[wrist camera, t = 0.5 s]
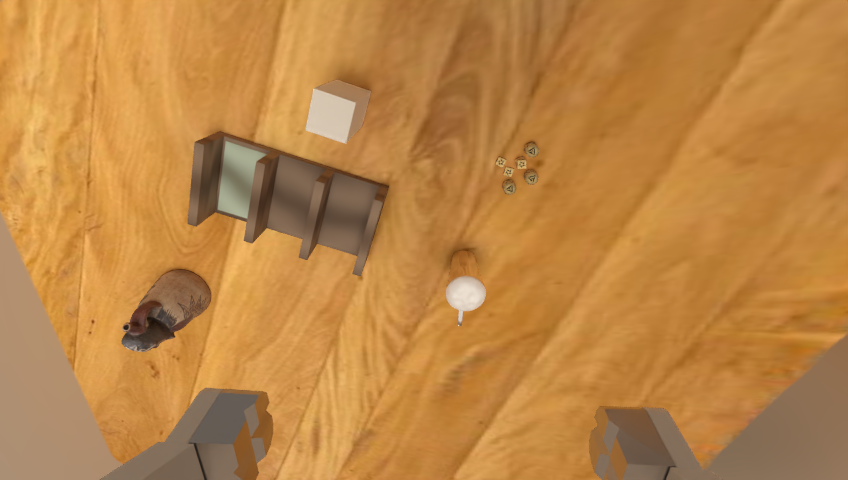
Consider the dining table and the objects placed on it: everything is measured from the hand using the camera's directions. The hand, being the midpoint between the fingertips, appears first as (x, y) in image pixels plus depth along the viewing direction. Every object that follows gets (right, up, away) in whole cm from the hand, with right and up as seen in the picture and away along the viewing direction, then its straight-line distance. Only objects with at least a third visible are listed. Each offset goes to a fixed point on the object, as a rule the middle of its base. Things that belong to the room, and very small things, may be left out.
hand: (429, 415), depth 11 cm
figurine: (-34, -3, +50) cm, 60 cm away
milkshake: (+5, +1, +46) cm, 46 cm away
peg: (-8, +20, +38) cm, 44 cm away
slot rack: (-16, +10, +43) cm, 47 cm away
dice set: (+11, +13, +41) cm, 44 cm away
